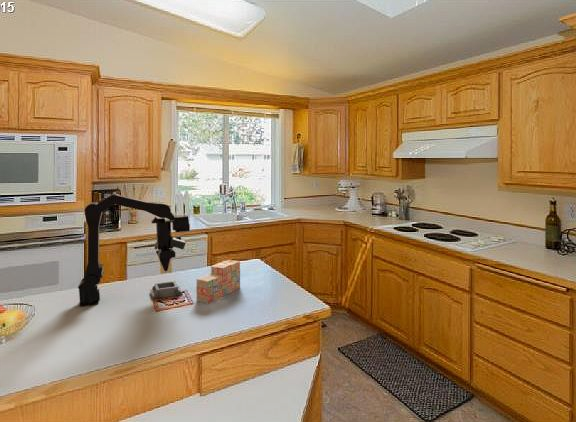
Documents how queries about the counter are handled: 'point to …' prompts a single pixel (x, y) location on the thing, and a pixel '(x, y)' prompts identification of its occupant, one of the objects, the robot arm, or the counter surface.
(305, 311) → the counter surface
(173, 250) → the robot arm
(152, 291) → the chassis
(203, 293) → the stack of blocks
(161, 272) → the brass knobbed block
